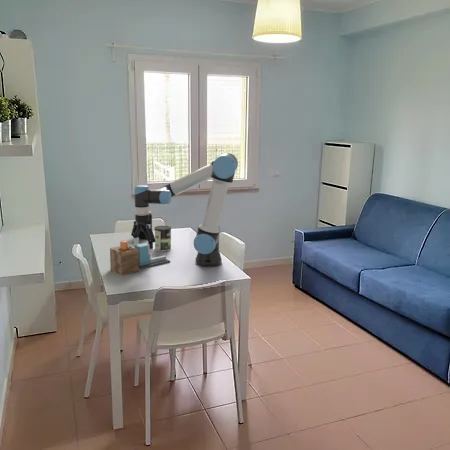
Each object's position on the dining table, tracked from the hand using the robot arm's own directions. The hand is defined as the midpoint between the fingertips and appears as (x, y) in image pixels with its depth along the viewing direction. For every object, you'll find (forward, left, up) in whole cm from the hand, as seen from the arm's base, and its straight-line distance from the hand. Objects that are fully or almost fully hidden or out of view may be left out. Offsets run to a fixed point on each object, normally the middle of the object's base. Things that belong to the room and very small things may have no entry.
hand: (143, 251), depth 246 cm
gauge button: (0, +12, +2) cm, 12 cm away
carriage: (0, 0, -7) cm, 7 cm away
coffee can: (+20, -28, -9) cm, 35 cm away
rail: (0, -5, -8) cm, 10 cm away
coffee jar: (+50, -34, -9) cm, 61 cm away
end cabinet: (0, +12, -8) cm, 15 cm away
